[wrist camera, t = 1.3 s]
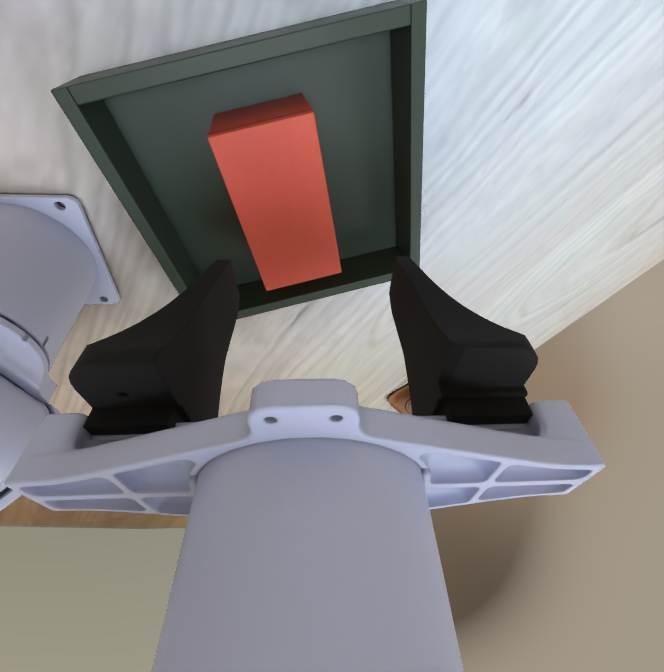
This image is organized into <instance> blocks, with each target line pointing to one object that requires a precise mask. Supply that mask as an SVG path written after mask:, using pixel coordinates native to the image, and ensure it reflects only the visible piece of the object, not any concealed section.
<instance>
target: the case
mask: <svg viewBox="0 0 664 672" xmlns="http://www.w3.org/2000/svg"><path fill="white" fill-rule="evenodd" d="M207 136H208V141H209V144H210V147H211V149H212V152H213V154H214V157H215V159H216V162H217V165H218V167H219V170H220V172H221V175H222V177H223V180H224V183H225V185H226V188H227V190H228V193H229V195H230V198H231V201H232V203H233V206H234V208H235V211H236V213H237V216H238V219H239V221H240V224H241V226H242V229H243V231H244V234H245V237H246V239H247V242H248V244H249V247H250V249H251V252H252V255H253V257H254V260H255V262H256V265H257V267H258V270H259V273H260V275H261V278H262V280H263V283H264V285H265V288H266V290H267V291H269V290H273V289H277V288H281V287H285V286H289V285H293V284H297V283H301V282H305V281H309V280H313V279H317V278H321V277H325V276H329V275H333V274H337V273H341V272H342V270H341V264H340V259H339V253H338V247H337V241H336V236H335V230H334V224H333V218H332V213H331V207H330V201H329V195H328V190H327V184H326V178H325V172H324V167H323V161H322V155H321V149H320V143H319V138H318V132H317V126H316V120H315V115H314V111H313V108H312V109H311V107H310V105H309V104H308V102H307V101H306V99H305V97H304V96H303V94H302V93H300V94H296V95H292V96H287V97H283V98H279V99H275V100H271V101H267V102H263V103H259V104H254V105H250V106H246V107H242V108H238V109H234V110H230V111H226V112H221V113H217V114H214V116H213V119H212V123H211V127H210V131H209V134H207Z"/></svg>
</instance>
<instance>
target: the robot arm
mask: <svg viewBox="0 0 664 672" xmlns="http://www.w3.org/2000/svg"><path fill="white" fill-rule="evenodd" d="M57 202H61V203H63V204H64V205H65V208H64V207H61V206H59V205H58V203H57ZM389 295H390V303H391V310H392V314H393V318H394V322H395V325H396V329H397V332H398V336H399V339H400V343H401V346H402V350H403V354H404V359H405V365H406V371H407V378H408V385H409V392H410V400H411V408H412V415H408V414H402V413H397V412H391V411H385V410H380V409H374V408H368V407H362V406H359V404H358V394H357V391H356V388H355V386H353V385H352V384H350V383H348V382H347V381H345V380H340V379H292V380H271V381H266V382H262V383H260V384H259V385H257V386H256V387H254V388H253V389H252V395H251V401H250V408H249V410H247V411H243V412H238V413H234V414H230V415H226V416H221V417H218V411H219V401H220V393H221V385H222V378H223V371H224V365H225V359H226V355H227V351H228V348H229V344H230V341H231V337H232V333H233V330H234V326H235V323H236V319H237V315H238V308H239V299H240V295H239V291H238V287H237V283H236V279H235V275H234V271H233V267H232V263H231V259H225V260H216V261H215V262H213V263H212V264H211V265H210V266H209V267H208V268H207V269H206V271H205V272H204V273H203V274H202V275H201V276H200V277H198V278H197V279H196V280H195V281H194V282H193V283H192V284H191V285H190V286H189V287H188V288H187V289H186V290H185V291H183V292H182V293H181V294H180V295H179V296H178V297H176V298H175V299H174V300H173V301H171V302H170V303H169V304H167V305H166V306H165V307H163V308H162V309H160V310H159V311H157V312H156V313H154V314H152V315H151V316H149V317H147V318H146V319H144V320H142V321H141V322H139V323H137V324H135V325H133V326H131V327H129V328H127V329H125V330H123V331H121V332H119V333H117V334H114V335H112V336H110V337H107V338H105V339H102V340H100V341H97V342H95V343H92V344H89V345H87V346H86V348H85V349H84V351H83V352H82V354H81V356H80V357H79V359H78V360H77V362H76V363H75V365H74V367H73V368H72V370H71V371H70V374H69V380H70V383H71V385H72V386H73V387H74V389H75V390H76V391H77V392H78V393H79V394H80V395H81V396H82V397H83V398H84V399H85V400H86V401H87V403H88V404H89V405H90V406H91V407H92V410H91V412H90V414H89V416H87V415H84V414H78V413H69V414H60V412H59V411H58V410H57V409H56V408H54V407H53V406H52V405H50V404H48V403H49V400H50V398H51V396H52V394H53V392H54V390H55V388H56V386H57V385H56V384H55V383H54V382H53V381H52V380H51V379H50V377H49V374H48V372H49V370H50V368H51V366H52V364H53V363H54V361H55V359H56V357H57V355H58V353H59V351H60V349H61V347H62V345H63V344H64V342H65V340H66V338H67V336H68V334H69V332H70V330H71V328H72V326H73V325H74V323H75V321H76V319H77V317H78V315H79V313H80V311H81V309H82V307H83V306H84V305H100V304H116V303H118V302H119V299H120V295H119V293H118V291H117V288H116V286H115V283H114V281H113V279H112V276H111V274H110V272H109V269H108V267H107V265H106V262H105V260H104V257H103V255H102V253H101V250H100V248H99V246H98V243H97V241H96V239H95V236H94V234H93V231H92V229H91V227H90V224H89V222H88V220H87V217H86V215H85V213H84V210H83V208H82V205H81V203H80V202H79V200H77V199H76V198H75V197H73V196H69V195H24V194H0V511H1V510H2V509H4V508H5V507H7V506H8V505H9V504H11V503H12V502H13V501H15V500H16V499H17V498H18V497H20V496H21V495H24V496H25V497H27V498H29V499H31V500H33V501H35V502H37V503H39V504H41V505H43V506H44V507H46V508H48V509H50V510H53V511H61V510H94V511H119V512H135V513H149V514H164V515H178V516H189V517H188V521H187V525H186V529H185V534H184V538H183V542H182V547H181V550H180V555H179V559H178V563H177V567H176V571H175V575H174V579H173V584H172V588H171V592H170V596H169V600H168V605H167V609H166V613H165V618H164V622H163V625H162V629H161V634H160V638H159V643H158V646H157V650H156V654H155V659H154V663H153V667H152V671H151V672H464V670H463V666H462V661H461V656H460V651H459V647H458V642H457V638H456V633H455V628H454V623H453V618H452V614H451V609H450V604H449V600H448V595H447V590H446V586H445V581H444V576H443V571H442V567H441V562H440V557H439V552H438V548H437V543H436V538H435V533H434V529H433V524H432V519H431V515H430V510H429V509H435V508H442V507H449V506H457V505H464V504H471V503H478V502H485V501H493V500H500V499H508V498H516V497H527V496H538V495H557V494H567V493H569V492H570V491H571V490H573V489H574V488H576V487H577V486H579V485H580V484H581V483H583V482H584V481H586V480H587V479H589V478H590V477H591V476H593V475H594V474H595V473H597V472H599V471H600V470H601V469H603V468H604V467H605V463H604V462H603V460H602V458H601V456H600V455H599V453H598V451H597V450H596V448H595V446H594V445H593V443H592V441H591V440H590V438H589V436H588V435H587V433H586V431H585V430H584V428H583V426H582V425H581V423H580V421H579V419H578V418H577V416H576V414H575V413H574V411H573V409H572V408H571V406H570V404H569V403H568V401H564V400H561V401H537V402H533V403H531V404H529V405H528V403H527V401H526V399H525V397H526V396H527V391H526V388H525V387H524V384H525V382H526V381H527V380H528V378H529V377H530V375H531V374H532V372H533V371H534V370H535V368H536V366H537V363H538V357H537V355H536V353H535V351H534V349H533V347H532V346H531V344H530V342H529V341H528V339H527V338H526V336H525V335H523V334H520V333H517V332H515V331H512V330H510V329H507V328H504V327H502V326H500V325H497V324H495V323H493V322H491V321H489V320H487V319H485V318H483V317H481V316H479V315H478V314H476V313H474V312H472V311H471V310H469V309H467V308H466V307H464V306H463V305H461V304H460V303H459V302H457V301H456V300H454V299H453V298H452V297H450V296H449V295H448V294H447V293H445V292H444V291H443V290H442V289H441V288H440V287H438V286H437V285H436V284H435V283H434V282H433V281H432V280H431V279H430V278H429V277H428V276H427V275H426V274H425V273H424V272H423V271H422V270H421V269H420V268H419V267H418V266H417V264H416V263H415V262H414V261H413V260H412V259H411V258H410V257H409V256H397V257H395V260H394V266H393V273H392V279H391V285H390V292H389ZM102 296H103V297H106V298H107V299H104V298H102Z"/></svg>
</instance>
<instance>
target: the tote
mask: <svg viewBox="0 0 664 672" xmlns="http://www.w3.org/2000/svg"><path fill="white" fill-rule="evenodd" d="M426 13H427V0H396V1H391V2H387V3H383V4H379V5H375V6H371V7H366V8H362V9H358V10H354V11H350V12H346V13H341V14H337V15H333V16H329V17H325V18H321V19H316V20H312V21H308V22H304V23H300V24H296V25H291V26H287V27H283V28H279V29H275V30H271V31H267V32H262V33H258V34H254V35H250V36H246V37H242V38H237V39H233V40H229V41H225V42H221V43H217V44H212V45H208V46H204V47H200V48H196V49H192V50H187V51H183V52H179V53H175V54H171V55H167V56H163V57H158V58H154V59H150V60H146V61H142V62H138V63H133V64H129V65H125V66H121V67H117V68H113V69H108V70H104V71H100V72H96V73H92V74H88V75H83V76H80V77H78V78H76V79H73V80H71V81H69V82H67V83H65V84H63V85H61V86H58V87H56V88H54V89H52V90H51V92H52V94H53V96H54V97H55V99H56V100H57V102H58V103H59V105H60V107H61V108H62V110H63V111H64V113H65V115H66V116H67V118H68V119H69V121H70V122H71V124H72V126H73V127H74V129H75V130H76V132H77V133H78V135H79V137H80V138H81V140H82V141H83V143H84V145H85V146H86V148H87V149H88V151H89V152H90V154H91V156H92V157H93V159H94V160H95V162H96V163H97V165H98V167H99V168H100V170H101V171H102V173H103V175H104V176H105V178H106V179H107V181H108V182H109V184H110V186H111V187H112V189H113V190H114V192H115V193H116V195H117V197H118V198H119V200H120V201H121V203H122V205H123V206H124V208H125V209H126V211H127V212H128V214H129V216H130V217H131V219H132V220H133V222H134V223H135V225H136V227H137V228H138V230H139V231H140V233H141V235H142V236H143V238H144V239H145V241H146V242H147V244H148V246H149V247H150V249H151V250H152V252H153V253H154V255H155V257H156V258H157V260H158V261H159V263H160V265H161V266H162V268H163V269H164V271H165V272H166V274H167V276H168V277H169V279H170V280H171V282H172V283H173V285H174V287H175V288H176V290H177V291H178V293H179V295H180V294H181V293H182V292H183V291H185V290H186V289H187V288H188V287H189V286H190V285H191V284H192V283H193V282H194V281H195V280H196V279H197V278H198V277H200V276H201V275H202V274H203V273H204V272H205V271H206V269H207V268H208V267H209V266H210V265H211V264H212V263H213V262H215V261H216V260H225V259H231V263H232V267H233V271H234V275H235V279H236V283H237V287H238V291H239V295H240V299H239V308H238V315H237V319H240V318H244V317H248V316H252V315H256V314H260V313H264V312H268V311H272V310H276V309H280V308H284V307H288V306H292V305H296V304H300V303H304V302H308V301H312V300H316V299H320V298H324V297H328V296H332V295H336V294H340V293H344V292H348V291H352V290H356V289H360V288H364V287H368V286H372V285H376V284H380V283H384V282H388V281H391V279H392V273H393V266H394V260H395V257H397V256H409V257H410V258H411V259H412V260H413V261H414V262H415V263H416V264H417V266H418V267H419V264H420V228H421V192H422V157H423V121H424V85H425V49H426ZM300 93H302V94H303V96H304V97H305V99H306V101H307V102H308V104H309V105H310V107H311V109H312V108H313V111H314V115H315V120H316V126H317V132H318V138H319V143H320V149H321V155H322V161H323V167H324V172H325V178H326V184H327V190H328V195H329V201H330V207H331V213H332V218H333V224H334V230H335V236H336V241H337V247H338V253H339V259H340V264H341V270H342V272H341V273H337V274H333V275H329V276H325V277H321V278H317V279H313V280H309V281H305V282H301V283H297V284H293V285H289V286H285V287H281V288H277V289H273V290H269V291H267V290H266V288H265V285H264V283H263V280H262V278H261V275H260V273H259V270H258V267H257V265H256V262H255V260H254V257H253V255H252V252H251V249H250V247H249V244H248V242H247V239H246V237H245V234H244V231H243V229H242V226H241V224H240V221H239V219H238V216H237V213H236V211H235V208H234V206H233V203H232V201H231V198H230V195H229V193H228V190H227V188H226V185H225V183H224V180H223V177H222V175H221V172H220V170H219V167H218V165H217V162H216V159H215V157H214V154H213V152H212V149H211V147H210V144H209V141H208V136H207V134H209V131H210V127H211V123H212V119H213V116H214V114H217V113H221V112H226V111H230V110H234V109H238V108H242V107H246V106H250V105H254V104H259V103H263V102H267V101H271V100H275V99H279V98H283V97H287V96H292V95H296V94H300Z"/></svg>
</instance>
